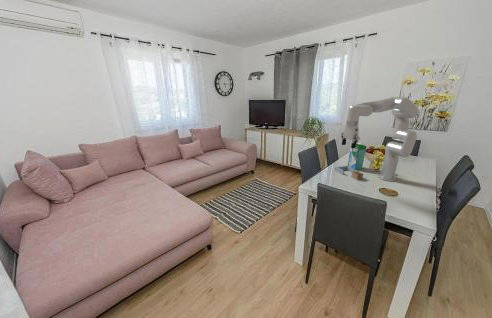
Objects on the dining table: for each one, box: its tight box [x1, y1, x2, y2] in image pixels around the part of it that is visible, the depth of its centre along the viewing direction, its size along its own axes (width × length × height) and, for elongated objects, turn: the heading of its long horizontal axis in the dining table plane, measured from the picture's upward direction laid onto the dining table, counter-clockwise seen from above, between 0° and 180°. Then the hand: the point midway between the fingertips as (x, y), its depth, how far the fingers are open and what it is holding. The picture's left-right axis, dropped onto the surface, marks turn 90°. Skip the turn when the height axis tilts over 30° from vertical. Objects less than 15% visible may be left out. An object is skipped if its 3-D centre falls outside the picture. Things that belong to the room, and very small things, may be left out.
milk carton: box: [347, 142, 368, 171], centre depth 185 cm, size 9×9×25 cm
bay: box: [334, 165, 356, 175], centre depth 180 cm, size 13×10×4 cm
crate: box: [350, 170, 364, 181], centre depth 166 cm, size 6×6×5 cm
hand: (348, 146), depth 146 cm, fingers open, 9 cm apart
